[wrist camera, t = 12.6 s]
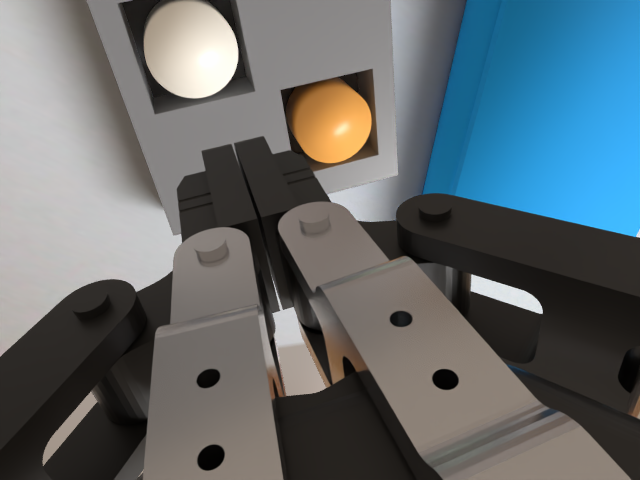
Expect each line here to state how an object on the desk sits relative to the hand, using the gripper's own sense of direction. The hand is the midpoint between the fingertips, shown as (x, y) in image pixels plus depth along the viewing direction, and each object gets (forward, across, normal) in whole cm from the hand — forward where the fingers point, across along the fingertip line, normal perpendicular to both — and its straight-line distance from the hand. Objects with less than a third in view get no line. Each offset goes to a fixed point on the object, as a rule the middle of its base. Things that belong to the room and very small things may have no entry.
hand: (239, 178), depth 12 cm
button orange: (+15, -6, +5) cm, 17 cm away
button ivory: (+15, 0, 0) cm, 15 cm away
